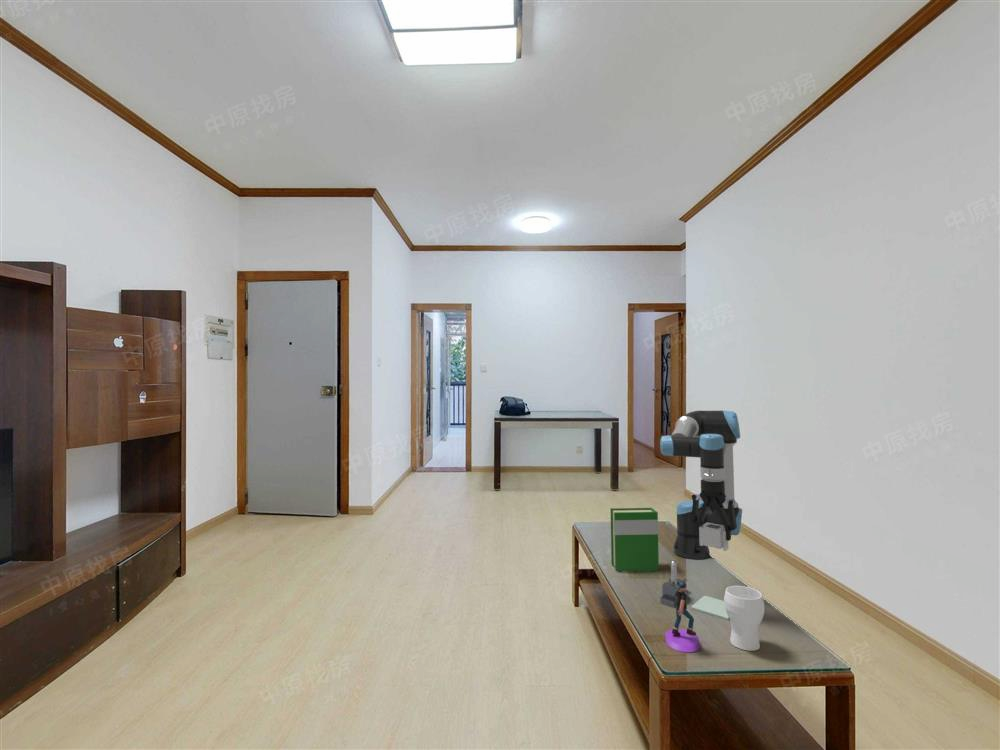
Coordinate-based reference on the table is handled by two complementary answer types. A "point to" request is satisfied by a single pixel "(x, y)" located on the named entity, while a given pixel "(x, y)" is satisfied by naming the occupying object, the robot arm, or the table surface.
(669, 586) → the vise
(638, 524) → the hardback book
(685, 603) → the figurine
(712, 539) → the grey hollow block
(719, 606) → the mat
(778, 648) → the table surface
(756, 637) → the cup
